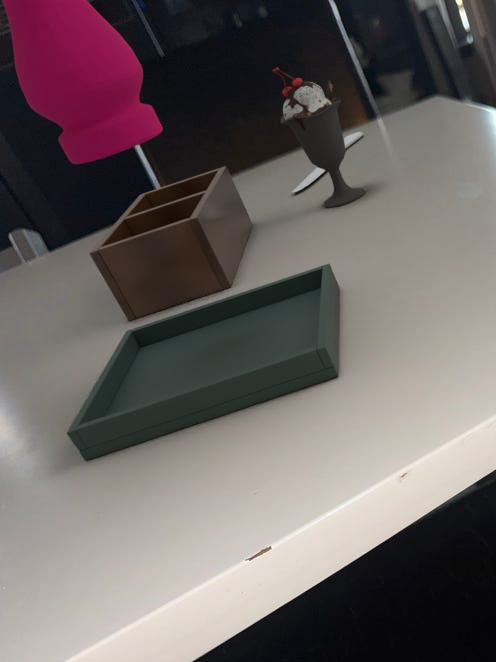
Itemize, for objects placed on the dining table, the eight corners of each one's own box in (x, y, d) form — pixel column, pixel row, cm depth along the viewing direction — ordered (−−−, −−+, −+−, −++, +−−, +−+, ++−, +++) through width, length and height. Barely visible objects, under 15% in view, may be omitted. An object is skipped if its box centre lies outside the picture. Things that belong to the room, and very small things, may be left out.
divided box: (128, 321, 71) (88, 253, 67) (169, 251, 88) (139, 194, 84) (231, 287, 71) (196, 217, 67) (252, 224, 88) (226, 165, 84)
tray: (85, 461, 49) (65, 433, 48) (140, 354, 63) (125, 330, 62) (338, 376, 49) (325, 346, 48) (339, 288, 63) (329, 263, 62)
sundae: (305, 214, 85) (248, 77, 78) (335, 190, 90) (284, 60, 83) (354, 207, 82) (299, 63, 75) (382, 182, 87) (333, 46, 80)
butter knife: (366, 129, 113) (348, 134, 113) (304, 188, 93) (283, 193, 94) (367, 132, 113) (349, 137, 114) (305, 191, 93) (285, 196, 94)
